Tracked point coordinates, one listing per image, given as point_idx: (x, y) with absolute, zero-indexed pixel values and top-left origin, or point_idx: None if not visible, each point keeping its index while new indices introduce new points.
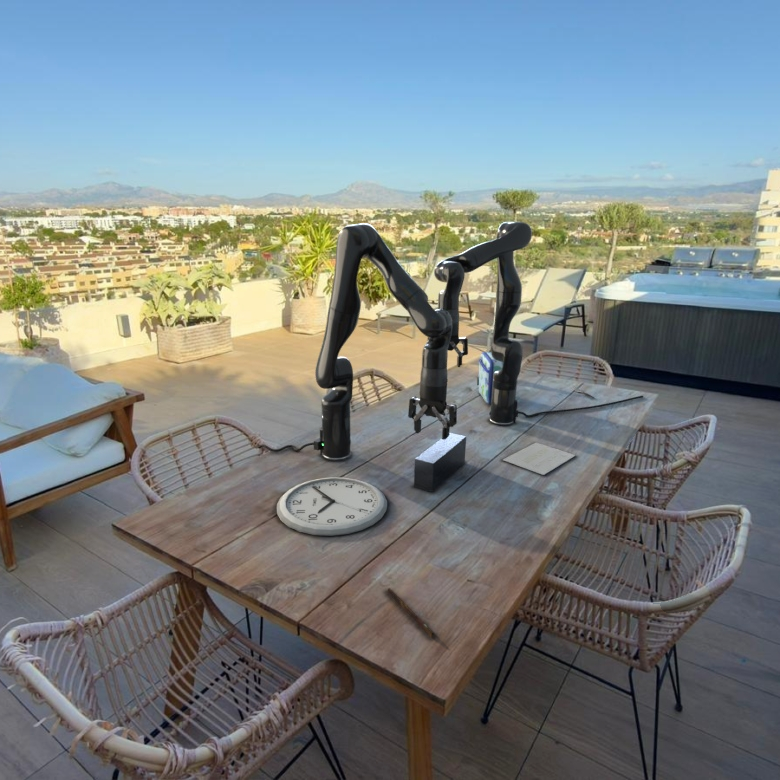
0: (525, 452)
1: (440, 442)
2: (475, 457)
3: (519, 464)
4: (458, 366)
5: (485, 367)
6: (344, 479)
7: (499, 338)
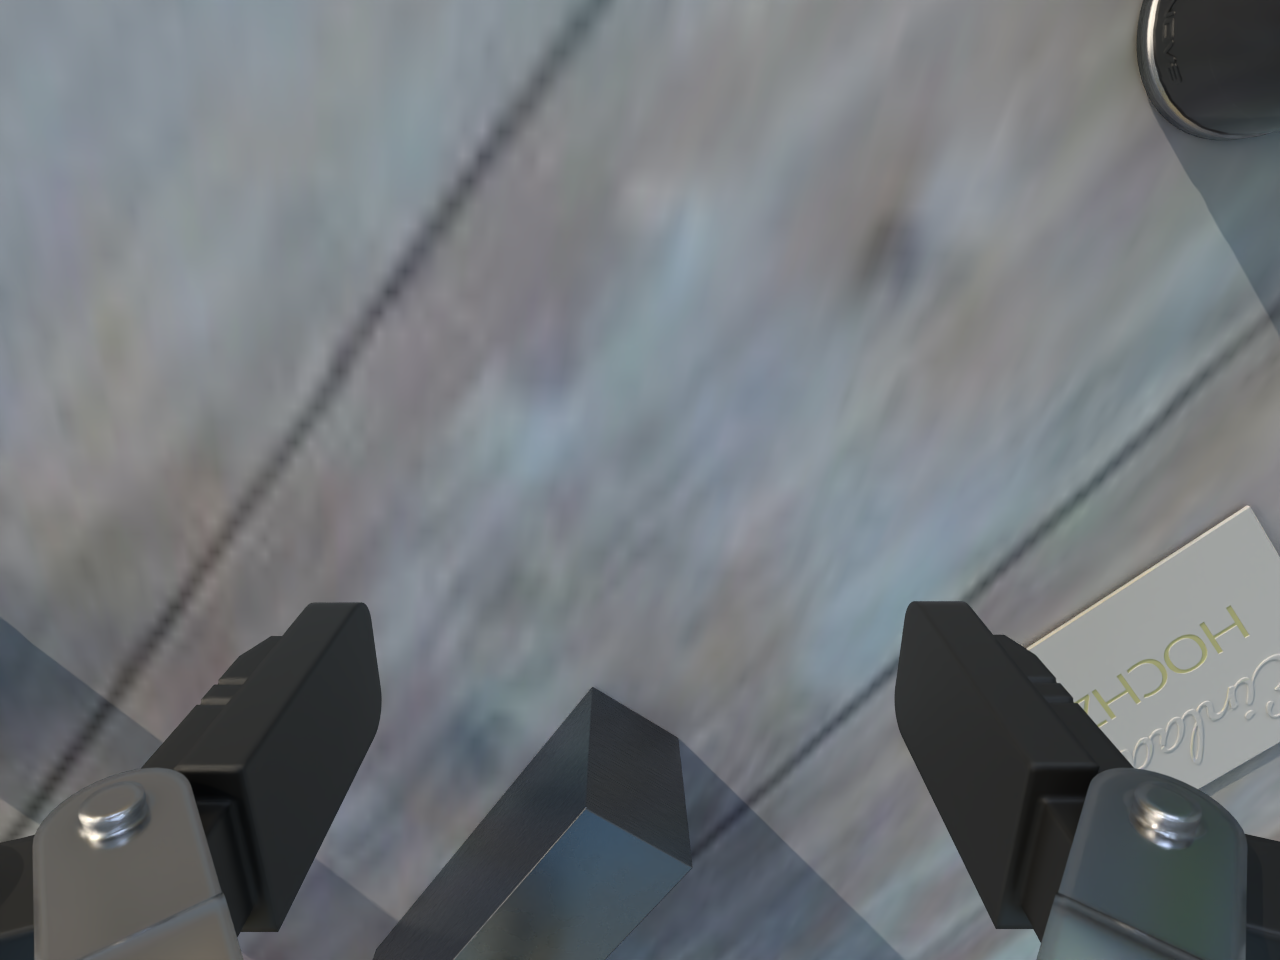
0: (1087, 651)
1: (495, 943)
2: (760, 681)
3: None
4: (905, 729)
5: None
6: None
7: None
